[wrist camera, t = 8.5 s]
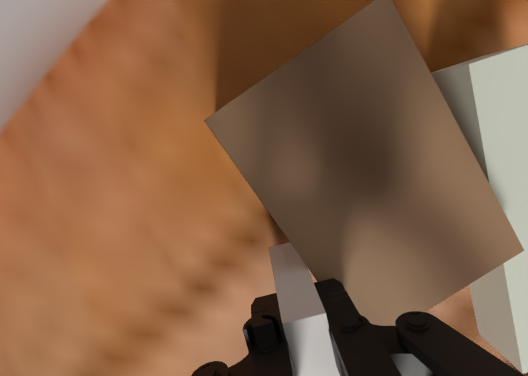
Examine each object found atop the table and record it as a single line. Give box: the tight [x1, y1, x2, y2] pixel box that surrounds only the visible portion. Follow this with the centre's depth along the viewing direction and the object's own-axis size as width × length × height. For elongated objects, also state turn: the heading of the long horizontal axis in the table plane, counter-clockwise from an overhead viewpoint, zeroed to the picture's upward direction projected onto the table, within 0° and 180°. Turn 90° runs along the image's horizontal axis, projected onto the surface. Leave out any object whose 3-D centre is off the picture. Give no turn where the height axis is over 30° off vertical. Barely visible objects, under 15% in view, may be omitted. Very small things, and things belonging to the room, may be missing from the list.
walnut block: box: [204, 0, 524, 326], centre depth 16 cm, size 8×12×5 cm, turn 34°
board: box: [431, 44, 528, 374], centre depth 17 cm, size 3×16×4 cm, turn 18°
